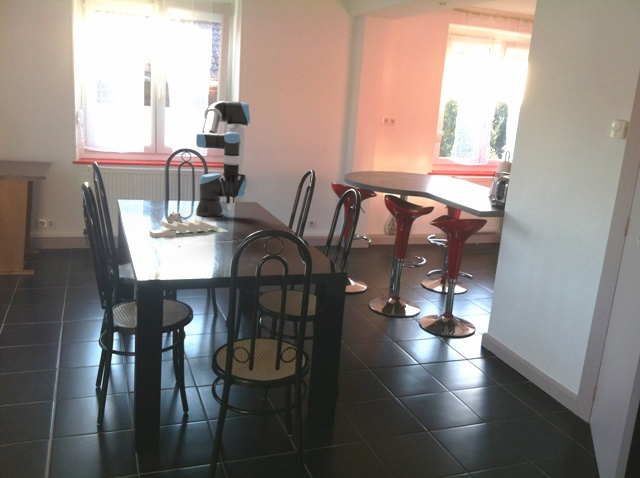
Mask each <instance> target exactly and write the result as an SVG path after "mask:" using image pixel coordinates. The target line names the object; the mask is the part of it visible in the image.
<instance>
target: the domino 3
mask: <svg viewBox="0 0 640 478" xmlns="http://www.w3.org/2000/svg"><path fill="white" fill-rule="evenodd" d="M172 225H174V226H176V227H179V228H182V229H185V230H186V231H191V232H194V233H197V230H198V229H195V228H192V227H189V226H187V225H185V224H184V223H179V222H176V221H174V222H173V224H172Z"/></svg>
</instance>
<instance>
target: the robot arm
mask: <svg viewBox="0 0 640 478" xmlns="http://www.w3.org/2000/svg"><path fill="white" fill-rule="evenodd" d="M220 122H221V123H226V126H227V128H228V129H229V131H228V132H227V131H226V132H225V133H218V131H219V126H220ZM249 124H251V117H250V106H249V104H248V103H247V102H242V101H229V100H228V101H227V100H219V101H216V102H213V103H212V104H211V105H209V106H207V108H206V109H205V111H204V125H203V128H202V132H198V133H196V139H195V140H196V141H195V143H196V147H197V148H201V149H218V150H224V152H223V153H224V154H223V163H224V164H223V174H221V173H207V174H203V175H201V176H200V178H199V201H198V204H197V207H196V209H195V215H197V216H200V217H206V218H207V217H211V218H213V217H214V218H215V217H222V216H223V215H224V210H223V208H222V207H223V206H222V204H221V198H225V199H226V200H225V202H226V204H227V205H226V206H227V208H226V209H227V210H228V211H234V210H233V208H234V207H233V204H235V199H237V198H238V199H239V198H240V199H241V198H242V199H243V198H244V197H245V195H246V192H247V187H248V180H249V179H248V177H246V173H245V171H244V156H245V155H244V153H245V133H246V131H245V130H246V129H247V128H248V125H249Z"/></svg>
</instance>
